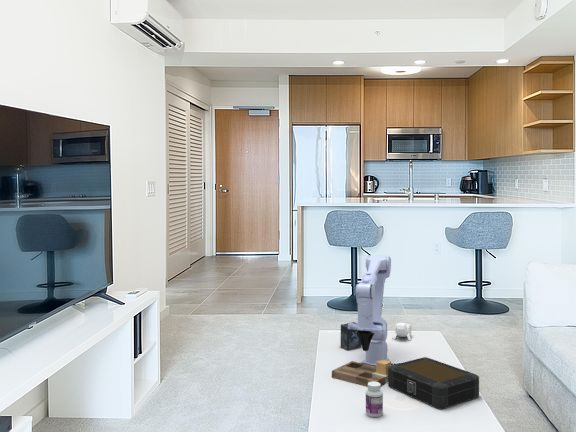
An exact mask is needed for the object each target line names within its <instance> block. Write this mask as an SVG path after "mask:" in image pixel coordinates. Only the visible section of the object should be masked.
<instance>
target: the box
mask: <svg viewBox="0 0 576 432" xmlns="http://www.w3.org/2000/svg"><path fill="white" fill-rule="evenodd" d="M349 323H350V322H348V323H343V324H342V323H341V324H340V348H341V349H342V350H346V351H348V352H349V351H352V350H355V349H360V348H361V349H362V345H361V342H360V339H359V337H358V336H357V332H358V330H354V329H348V324H349ZM351 323H354V324H358V322H354V321H352V322H351Z"/></svg>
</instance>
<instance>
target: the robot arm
mask: <svg viewBox="0 0 576 432" xmlns="http://www.w3.org/2000/svg"><path fill="white" fill-rule="evenodd" d="M365 269H366V272H364V274H363V275H362V278H361V280H360V282H359V283H357V284H356V285H355V299H356V303H357V323H358V324H354V323H352V322H348V323H349V324H348V329H354V330H358V332H357V336H358V337H359V339H360V342H361V349H362V351H364V352H365V358H364V360H362V361H361V362H360V363H362V364H367V365H371V366H375V367H376V362H378V361H380V360H386V361H390V358H388V343H387V338H388V323H387V321H386V320H385V319H384V318H383V317H382V312H383V302H384V300H383V299H384V291H385V290H384V289H385V283H386V279H387V278H390V277H391V276H390V275H391V270H392V259H391V256H390V255H370V254H367V256H366V258H365Z"/></svg>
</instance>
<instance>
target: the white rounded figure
mask: <svg viewBox="0 0 576 432" xmlns="http://www.w3.org/2000/svg"><path fill="white" fill-rule="evenodd" d="M411 336H412V324H409V323H407V322H397V323H395V324H394V333H393V335H392V340H396V339H397V337H399V338H407V340H408V341H412V338H411Z"/></svg>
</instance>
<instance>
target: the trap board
mask: <svg viewBox="0 0 576 432" xmlns="http://www.w3.org/2000/svg"><path fill="white" fill-rule="evenodd" d="M331 378H333V379H337V380H341V381H345V382H349V383H352V384H355V385H360V386H363V387H367V388H368V383H369V382H379V383H380V384H381V387H382V386H384V385H386V384H388V374H387V375H383V374H379V373H376V366H374V365H369V364H365V363H361V362H357V361H353V360H352V361H350V362H347V363H345V364H343V365H341V366H339V367H336V368H335V369H333V370H331Z"/></svg>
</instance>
